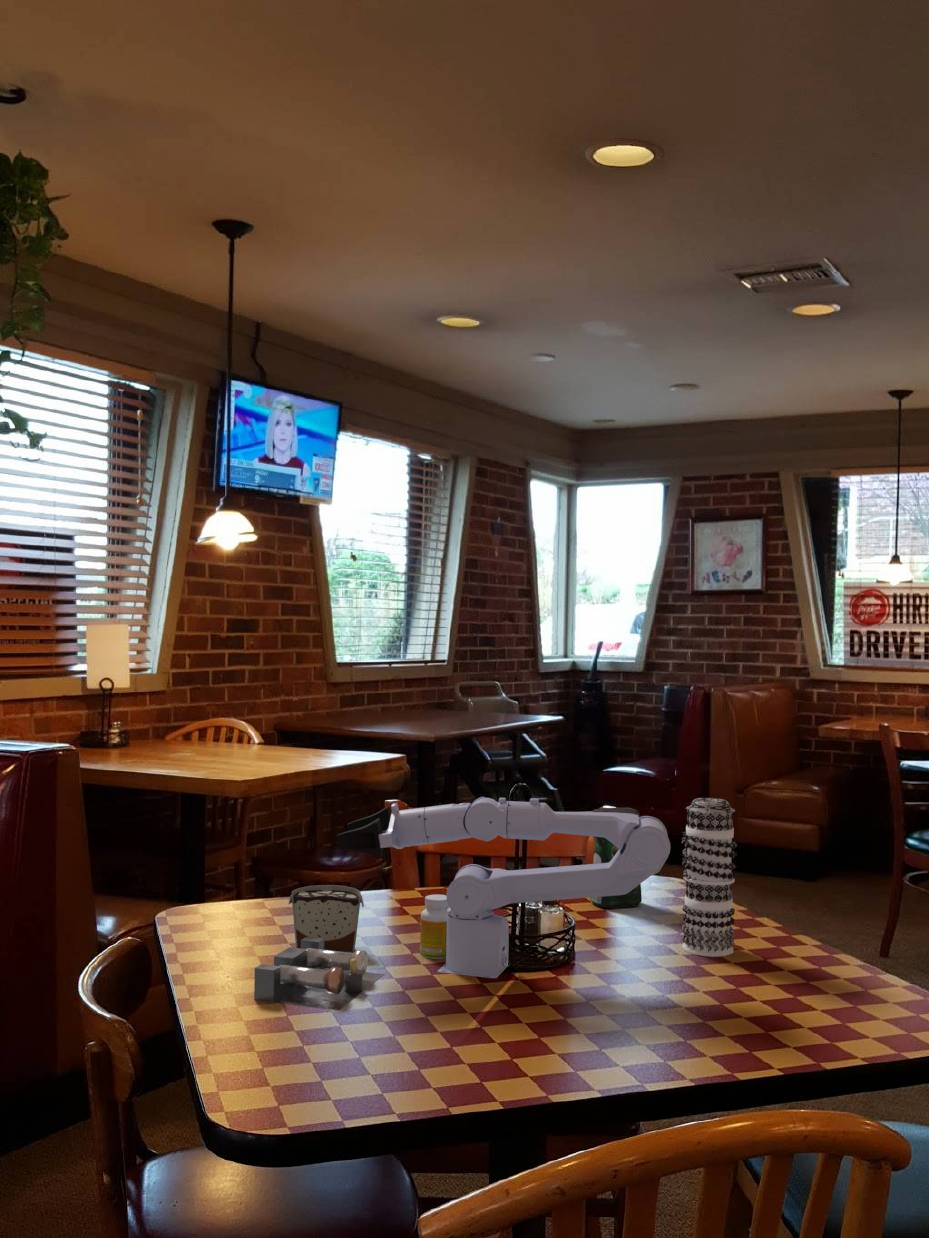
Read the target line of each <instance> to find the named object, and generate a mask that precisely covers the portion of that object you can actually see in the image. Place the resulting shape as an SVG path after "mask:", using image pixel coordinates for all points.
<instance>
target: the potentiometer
mask: <svg viewBox="0 0 929 1238" xmlns="http://www.w3.org/2000/svg"><path fill="white" fill-rule="evenodd" d="M362 974H363V973H362V972H360V971H357V959H350V971H348V972H345V974H344V991H345V992H348V993H358V992H361V991H362Z"/></svg>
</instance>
